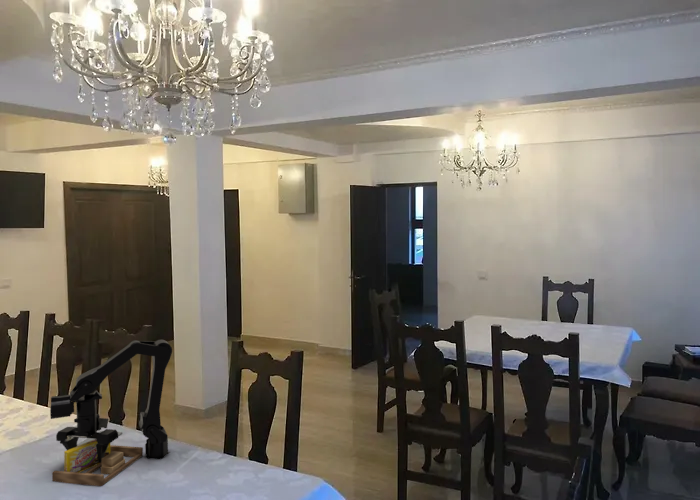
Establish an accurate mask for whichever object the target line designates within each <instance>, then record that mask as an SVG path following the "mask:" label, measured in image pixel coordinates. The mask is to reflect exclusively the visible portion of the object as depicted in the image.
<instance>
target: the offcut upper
mask: <svg viewBox="0 0 700 500" xmlns="http://www.w3.org/2000/svg"><path fill="white" fill-rule="evenodd" d="M124 457H125V456H124V453H123V452H118V451H113V452H112V453H110V454H108V455H107V456H105V457H103V458H102V466H103V467H113V466H115V465H116V464H118V463H119V462H121V461H122V460H124V459H125V458H124Z"/></svg>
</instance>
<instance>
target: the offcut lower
mask: <svg viewBox="0 0 700 500" xmlns="http://www.w3.org/2000/svg"><path fill="white" fill-rule="evenodd" d="M125 463H126V458H124V460H122V461H121V462H119V463H118V464H116V465H115V466H113V467H103V466H102V467H101V468H100V474H103V475H107V476H108V475H110V474H111V473H112V472H114V471H115V470H117V469H118V468H119V467H121V466H122V465H124V464H125Z"/></svg>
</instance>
